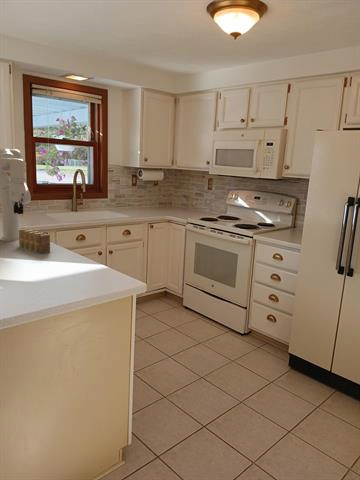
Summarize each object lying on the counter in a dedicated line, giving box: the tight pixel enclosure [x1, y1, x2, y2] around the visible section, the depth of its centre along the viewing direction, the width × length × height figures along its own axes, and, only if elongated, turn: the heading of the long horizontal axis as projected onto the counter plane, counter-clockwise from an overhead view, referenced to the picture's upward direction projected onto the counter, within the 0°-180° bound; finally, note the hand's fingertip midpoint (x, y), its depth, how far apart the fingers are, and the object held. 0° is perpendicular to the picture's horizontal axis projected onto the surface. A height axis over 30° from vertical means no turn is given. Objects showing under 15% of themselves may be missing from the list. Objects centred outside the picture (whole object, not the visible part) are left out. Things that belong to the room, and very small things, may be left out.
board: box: [16, 246, 53, 256], centre depth 206 cm, size 24×8×1 cm, turn 54°
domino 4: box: [34, 232, 45, 252], centre depth 202 cm, size 2×5×10 cm, turn 144°
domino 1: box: [18, 228, 30, 247], centre depth 210 cm, size 2×5×10 cm, turn 144°
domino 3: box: [29, 230, 40, 251], centre depth 204 cm, size 2×5×10 cm, turn 144°
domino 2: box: [24, 229, 35, 249], centre depth 207 cm, size 2×5×10 cm, turn 144°
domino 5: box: [39, 233, 51, 255], centre depth 199 cm, size 2×5×10 cm, turn 144°
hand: (18, 213), depth 210 cm, fingers open, 3 cm apart
